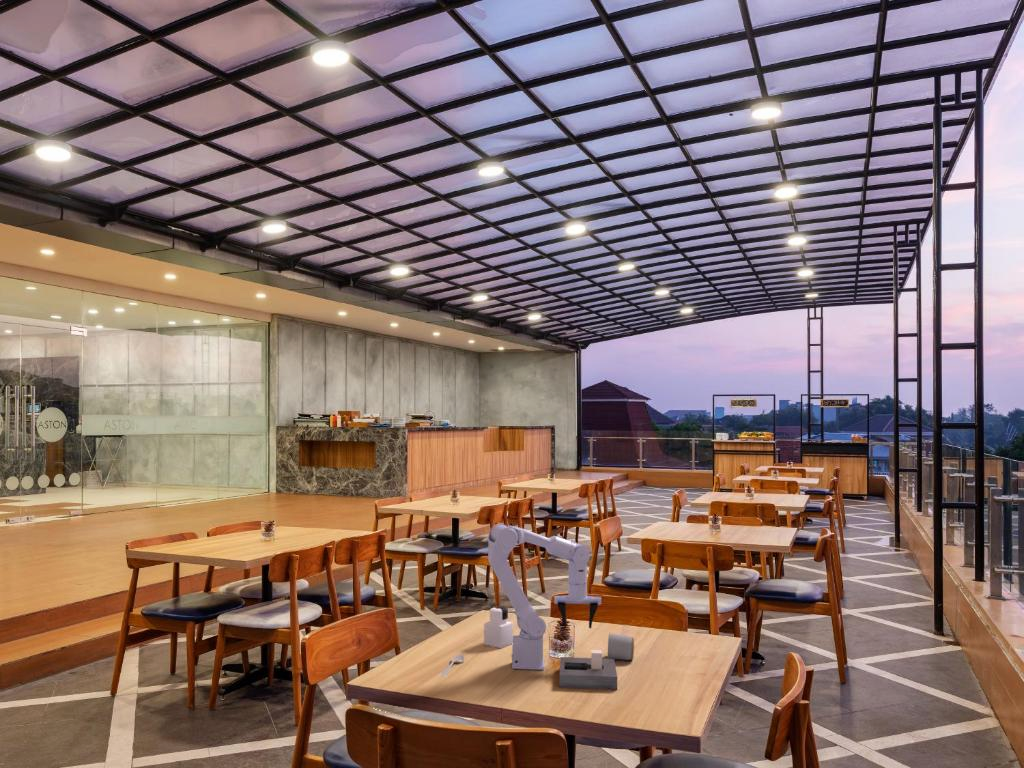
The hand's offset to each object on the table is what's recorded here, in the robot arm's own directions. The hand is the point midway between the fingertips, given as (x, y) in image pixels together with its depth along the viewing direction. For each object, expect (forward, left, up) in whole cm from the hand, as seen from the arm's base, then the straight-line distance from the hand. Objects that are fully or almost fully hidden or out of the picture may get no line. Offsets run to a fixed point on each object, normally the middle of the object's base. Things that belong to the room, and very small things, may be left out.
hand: (577, 627), depth 236 cm
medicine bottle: (-26, +15, -11) cm, 32 cm away
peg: (+5, -16, -11) cm, 20 cm away
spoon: (-38, -11, -11) cm, 41 cm away
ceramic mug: (+13, +5, -11) cm, 18 cm away
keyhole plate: (+3, -16, -10) cm, 19 cm away
